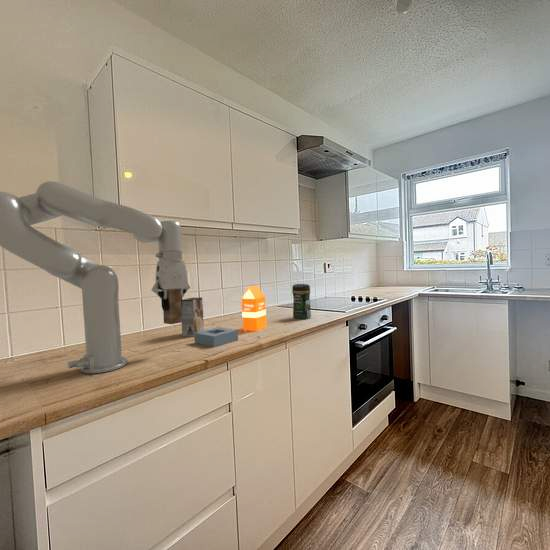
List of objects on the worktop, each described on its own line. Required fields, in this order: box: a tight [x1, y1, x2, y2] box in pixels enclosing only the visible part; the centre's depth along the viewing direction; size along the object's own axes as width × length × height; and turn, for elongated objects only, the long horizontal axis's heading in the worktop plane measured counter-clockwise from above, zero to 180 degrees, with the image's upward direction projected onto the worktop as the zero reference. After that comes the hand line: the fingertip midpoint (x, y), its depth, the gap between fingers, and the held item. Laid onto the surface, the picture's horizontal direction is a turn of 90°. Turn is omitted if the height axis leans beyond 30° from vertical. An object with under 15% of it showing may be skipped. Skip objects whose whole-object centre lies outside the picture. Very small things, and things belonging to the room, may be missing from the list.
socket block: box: [194, 326, 239, 348], centre depth 119 cm, size 12×12×4 cm
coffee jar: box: [291, 283, 312, 320], centre depth 163 cm, size 10×8×19 cm
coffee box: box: [181, 296, 205, 337], centre depth 134 cm, size 9×6×16 cm
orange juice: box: [241, 285, 267, 332], centre depth 140 cm, size 8×9×20 cm
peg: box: [162, 289, 182, 325], centre depth 105 cm, size 4×4×14 cm
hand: (172, 308), depth 105 cm, fingers closed on peg, 4 cm apart
